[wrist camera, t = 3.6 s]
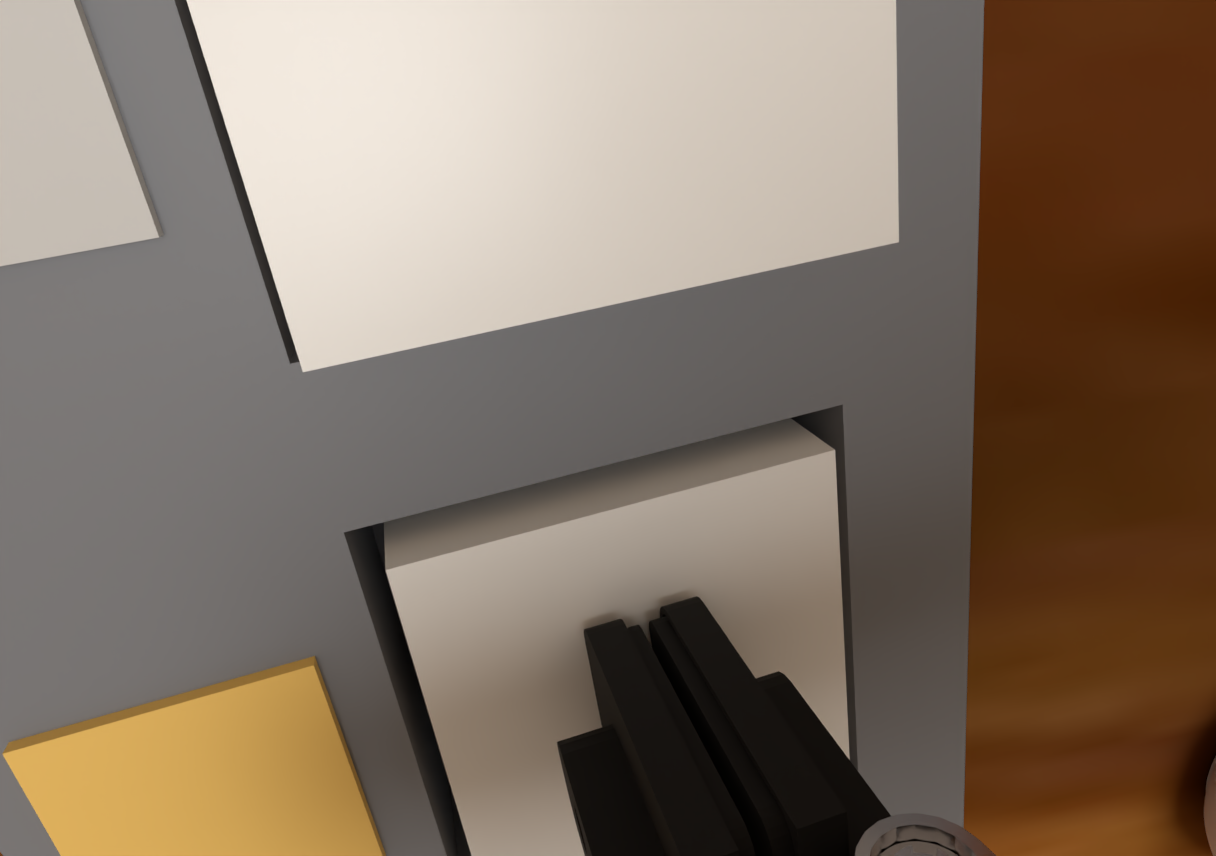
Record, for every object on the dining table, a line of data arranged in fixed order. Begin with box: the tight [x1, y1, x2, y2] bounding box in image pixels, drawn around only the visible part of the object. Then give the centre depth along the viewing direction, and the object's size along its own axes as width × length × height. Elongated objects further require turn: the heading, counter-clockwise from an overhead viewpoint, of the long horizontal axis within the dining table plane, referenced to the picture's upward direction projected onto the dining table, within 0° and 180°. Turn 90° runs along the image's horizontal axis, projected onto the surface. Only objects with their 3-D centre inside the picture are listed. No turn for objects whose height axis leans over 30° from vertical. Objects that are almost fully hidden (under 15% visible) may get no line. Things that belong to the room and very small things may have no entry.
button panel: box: [0, 0, 984, 856], centre depth 10 cm, size 14×30×3 cm, turn 9°
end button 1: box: [384, 418, 850, 856], centre depth 13 cm, size 6×6×3 cm
